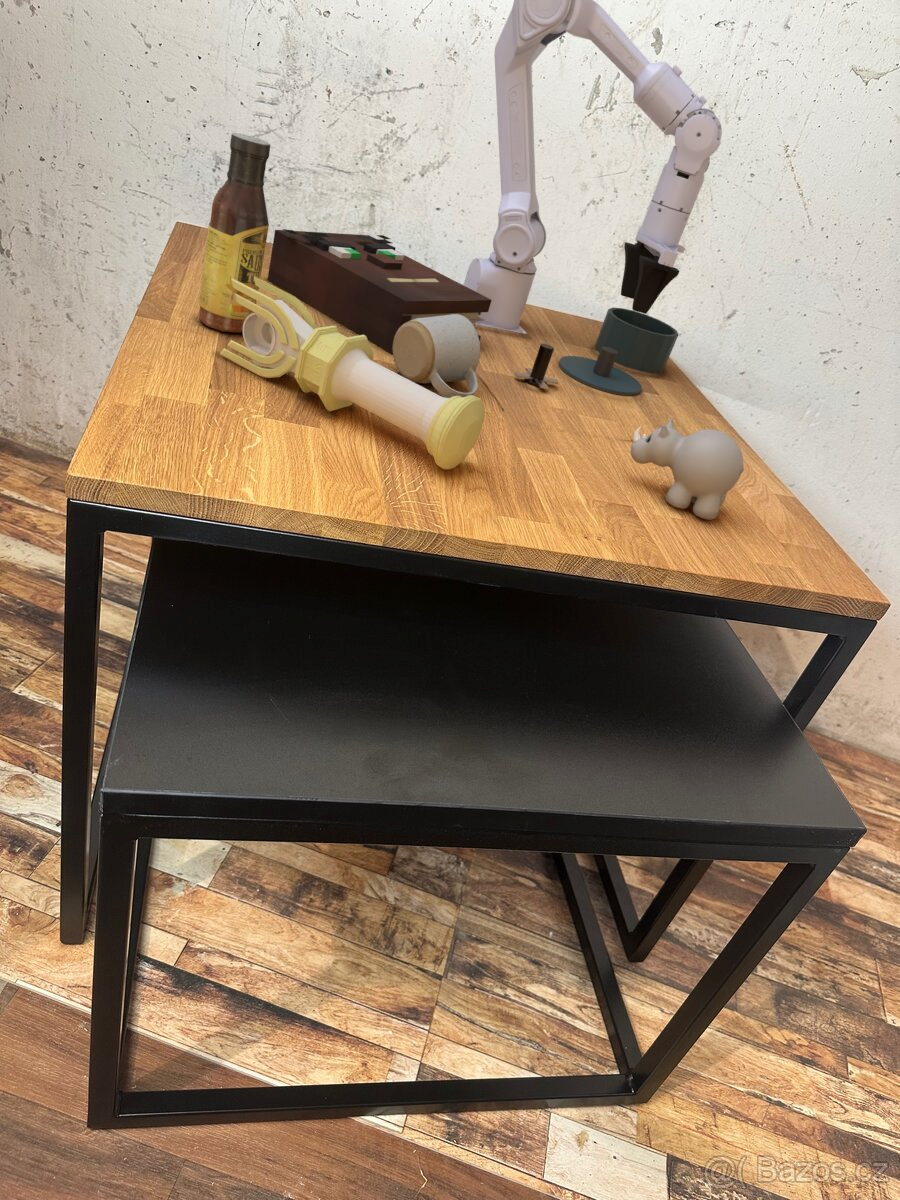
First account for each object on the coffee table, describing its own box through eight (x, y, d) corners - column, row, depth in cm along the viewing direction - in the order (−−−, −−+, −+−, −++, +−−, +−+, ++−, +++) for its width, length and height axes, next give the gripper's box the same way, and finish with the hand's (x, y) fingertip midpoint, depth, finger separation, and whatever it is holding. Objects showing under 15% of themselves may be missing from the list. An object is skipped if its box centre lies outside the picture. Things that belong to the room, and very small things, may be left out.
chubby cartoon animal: (627, 464, 99) (656, 394, 94) (725, 509, 96) (761, 439, 91) (608, 481, 93) (638, 408, 89) (712, 529, 90) (749, 456, 85)
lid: (577, 392, 116) (589, 359, 113) (544, 357, 125) (555, 326, 123) (653, 405, 121) (666, 374, 118) (616, 371, 130) (628, 341, 127)
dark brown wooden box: (414, 302, 102) (257, 216, 115) (399, 363, 106) (249, 273, 119) (512, 300, 116) (361, 224, 129) (495, 354, 120) (351, 275, 133)
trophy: (502, 392, 83) (267, 274, 92) (463, 406, 77) (216, 278, 86) (477, 467, 87) (254, 348, 96) (438, 486, 81) (205, 356, 91)
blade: (520, 392, 109) (534, 351, 106) (505, 374, 114) (518, 333, 111) (562, 399, 111) (577, 359, 109) (545, 381, 116) (559, 341, 113)
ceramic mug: (381, 367, 103) (397, 304, 98) (429, 364, 108) (446, 304, 104) (441, 408, 98) (461, 343, 93) (488, 403, 103) (509, 341, 99)
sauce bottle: (239, 340, 97) (266, 149, 87) (187, 322, 98) (208, 129, 87) (261, 327, 103) (289, 146, 92) (211, 310, 103) (234, 127, 93)
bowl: (611, 369, 130) (628, 327, 126) (582, 342, 138) (597, 302, 135) (673, 381, 134) (691, 341, 131) (641, 353, 142) (657, 315, 139)
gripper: (713, 225, 114) (671, 325, 121) (682, 205, 126) (646, 297, 133) (664, 210, 113) (624, 312, 120) (638, 191, 125) (603, 285, 132)
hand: (633, 304), depth 126 cm, fingers open, 7 cm apart
